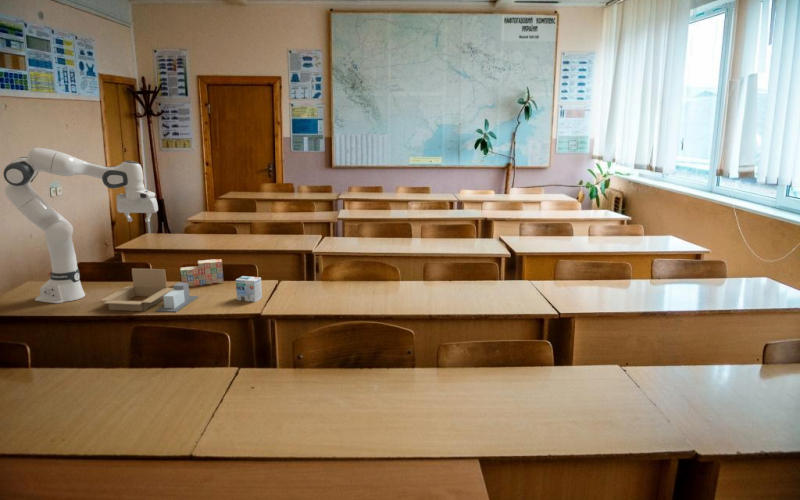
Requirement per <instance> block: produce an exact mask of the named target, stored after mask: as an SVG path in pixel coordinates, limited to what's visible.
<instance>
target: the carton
mask: <svg viewBox="0 0 800 500" xmlns="http://www.w3.org/2000/svg"><path fill="white" fill-rule="evenodd" d="M131 277H132V282H133V286H125V287H122V288H121V289H119V290H116V291H115V292H113V293H111V294H109V295H107V296H106V297H104V298H102V299H100V300H99V302H103V304H104V305H106V304H107V305H108V306H107V307H108V310H109V311H112V310H113V311H130V312H131V311H134V312H137V311H138V312H145V311H146V310H148V309H149V308H151V307H153V306H155V305H157V304H158V303H159V302H161V301H162V300H164V299H163V296H164V295H166V294H167V293H169V292H170V291H172V290H174V287H168V285H167V277H166V269H160V268H158V269H157V268H131ZM134 297H147V298H145V299H143V300H131V299H132V298H134Z"/></svg>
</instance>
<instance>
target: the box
mask: <svg viewBox="0 0 800 500" xmlns="http://www.w3.org/2000/svg"><path fill="white" fill-rule="evenodd" d="M172 286H173V288H174V289H173V290H171V291H170V292H168V293H167V294H166V295H164V296H163V299H162V300H163V306H164V308H176V307H177V306H179V305H180V304H182V303H183V302H185V301H186V300H188V299H189V298H190V296H191V295H190V289H189V287H190V286H188V283H182V282H181V281H180V282H176V283H175V284H174V285H172Z"/></svg>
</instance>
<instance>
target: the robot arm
mask: <svg viewBox="0 0 800 500" xmlns="http://www.w3.org/2000/svg"><path fill="white" fill-rule="evenodd" d="M39 172H41V173H42V172H43V173H47V174H51V175H54V176H55V175H56V176H61V177H72V176H80V175H81V176H83V175H85V176H87V177H93V178H97V179H101V180H102V184H104V186H105V187H107V188H109V189H113V190H115V189H119V188H124V191H125V193H118V194H117V195H116V211H117V212H118V213H120V214H121V213H124V216H125V218H126V219H127V222H129V223H132V222H133V217H131V216H130V214H135V213H136V214H139V213H140V214H146V217H145V218H144V220H145V223H147V222H148V223H149V222H151V216H152V214H155V213H157V212H158V211H159V205H158V201H157V198H156V193H155V192H154V191H151V190H149V189H146V188H145V184H144V173H143V168H142V165H141V163H139V162H137V161H133V160H125V161H123V162H121V163H120V164H118V165H113V166H104V165H100V164H97V163H93V162H89V161H85V160H84V159H80V158H78V157H75V156H72V155H70V154H68V153H65V152H61V151H60V150H59V151H58V150H55V149H51V148H50V149H49V148H43V147H34V148H32V149H31V150H30V151H29V152H28V154H27V156H20V157H17V158H16V159H14V160H12V161H11V162H9V164H7V165H6V166H5V168H4V169H3V179H4V180H5V181H6V182H7V183H8V184H7V185H6V186H5V187H4V195H5V196H6V197H7V199H8V200H9V201H10V202H11V204H12V205H13V206H14V207H15V208H16V209H17V210H18V211H19V212H20V213H21V214H22V215H23V216H24V217H25V218H26V219H27V220H29V222H30V223H33V224H34V225H36V227H38V228H39V229H41V230H42V231H44V236H45V237H44V238H45V242H46V243H45V244H46V247H47V250H48V254H49V258H50V264H51V265H50V266H51V270H52V271H51V272H49V273H48V274H47V276H48V277H50V278H49V279H48V280H47V282H45V283H44V284H42V286H40V289H39V295H38V296H37V297H35V300H34V301H35V302H43V303H48V304H49V303H50V304H62V303H65V302H72V301H75V300H76V301H77V300H80V299H82V298H84V297H85V296H86V293H85V291H84V289H83V285H82V282H81V280H80V279H81V274H80V269H79V267H78V260H77V254H76V250H75V246H74V242H73V233H74V228H73V225H72V223H70V222H69V221H68V220H67V219H66V218H65V217H63V215H62V214H61V213H59V212H58V211H56V210H55V209H54V208H53V207H51V206H50V205H49V204H48V202H46V201H45V200H44V199H43V198H42V197H41V196H40V195H39V193H37V192H36V191H35V189H33V187H32V185H31V183H32V182H33V181H34V180H35V178H36V177H37V176H38V174H39Z"/></svg>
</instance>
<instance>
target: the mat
mask: <svg viewBox="0 0 800 500" xmlns="http://www.w3.org/2000/svg"><path fill="white" fill-rule="evenodd" d="M189 296H190V298H189V299H188V300H186V301H185V302H183V303H182V304H180V305H179V306H177V307H176V308H164V305H162V306H161V307H159V308H157V309H156V310H155V312H156V313H177V312H179V311H180V310H183V308H185V307H186V306H188V305H190V303H192V302H193V300H194V301H196V299H198V298H199V295H189Z"/></svg>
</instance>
